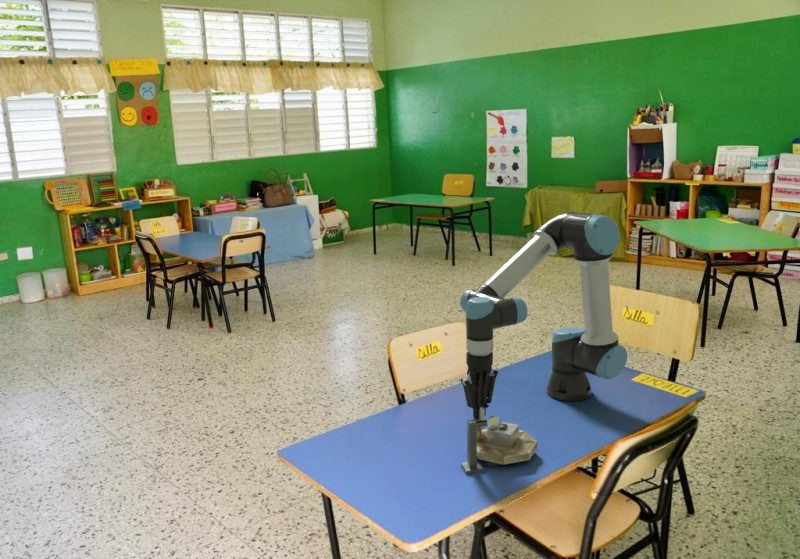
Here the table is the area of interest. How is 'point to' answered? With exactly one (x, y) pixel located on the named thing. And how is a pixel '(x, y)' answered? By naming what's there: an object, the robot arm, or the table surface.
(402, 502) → the table surface
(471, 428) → the dial post
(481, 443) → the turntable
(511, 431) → the cover
